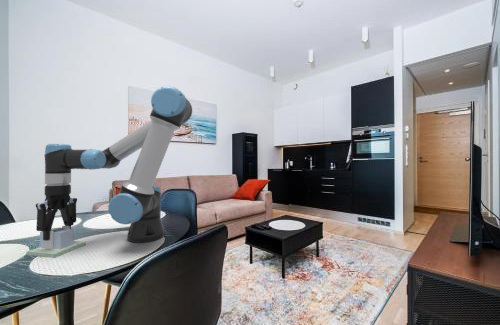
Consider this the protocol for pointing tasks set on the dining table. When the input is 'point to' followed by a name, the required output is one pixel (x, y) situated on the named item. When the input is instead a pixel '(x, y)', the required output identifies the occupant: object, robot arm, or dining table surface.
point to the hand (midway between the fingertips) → (57, 245)
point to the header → (54, 250)
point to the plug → (59, 238)
